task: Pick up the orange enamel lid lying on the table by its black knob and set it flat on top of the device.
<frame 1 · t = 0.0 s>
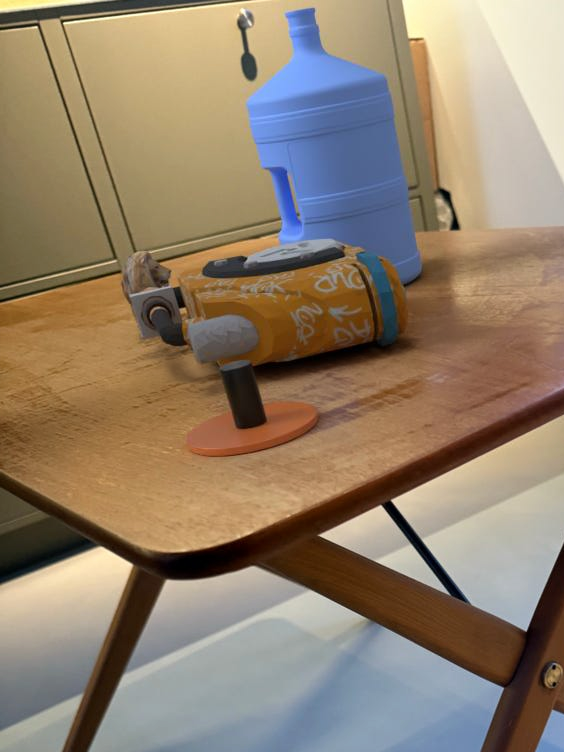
lid: (253, 431, 79), on the table
lion figurine: (161, 330, 119), on the table
water jug: (358, 287, 122), on the table
device: (271, 348, 102), on the table
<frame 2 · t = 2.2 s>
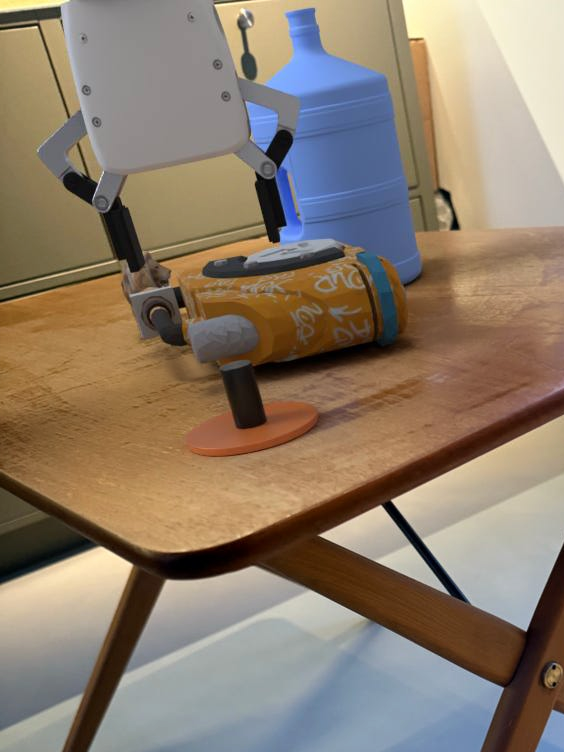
hand: (207, 254, 72), 13 cm above the table, tool pointing down, fingers open, 9 cm apart
nothing on the table moved.
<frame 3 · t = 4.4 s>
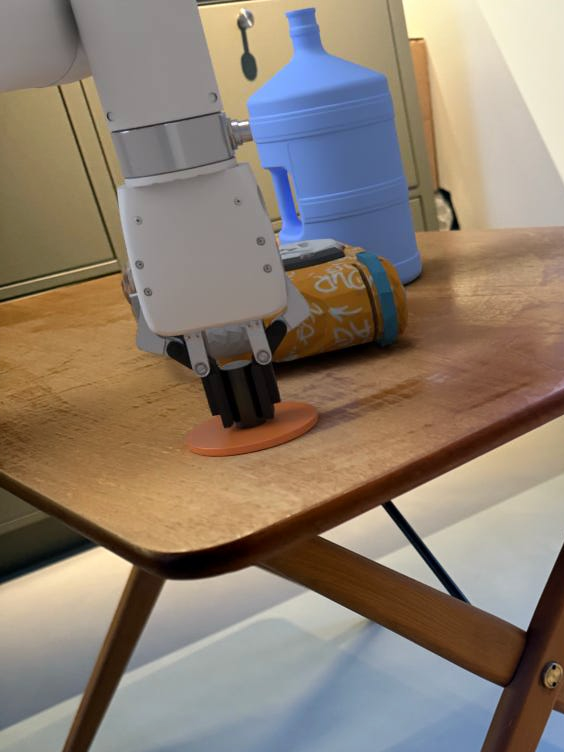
hand: (249, 416, 78), 1 cm above the table, tool pointing down, fingers closed on lid, 2 cm apart
lid: (253, 431, 79), on the table, touching gripper
everything else where it was.
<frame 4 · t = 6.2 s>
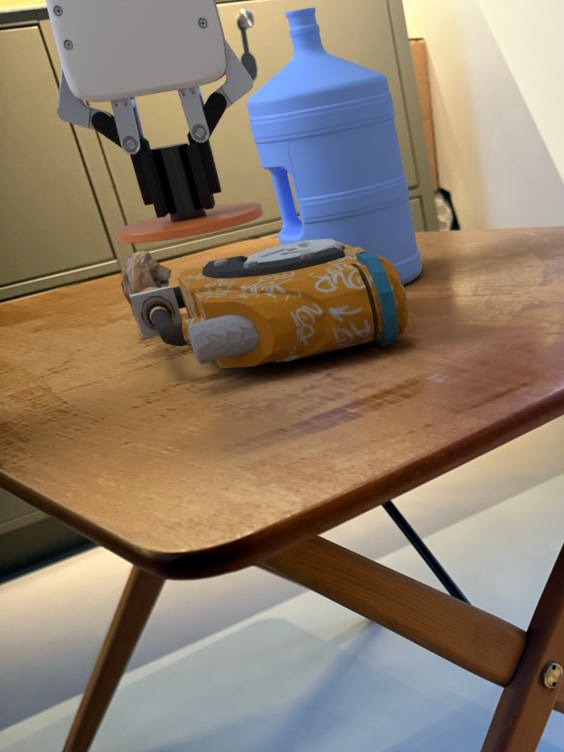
hand: (186, 208, 71), 16 cm above the table, tool pointing down, fingers closed on lid, 2 cm apart
lid: (191, 226, 72), point 15 cm above the table, touching gripper
everything else where it was.
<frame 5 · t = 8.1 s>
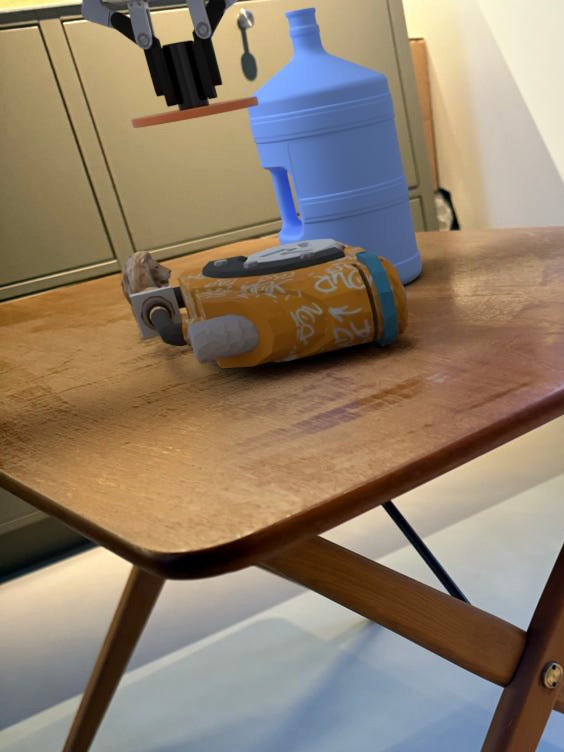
hand: (192, 99, 82), 22 cm above the table, tool pointing down, fingers closed on lid, 2 cm apart
lid: (196, 116, 83), point 21 cm above the table, touching gripper
everything else where it was.
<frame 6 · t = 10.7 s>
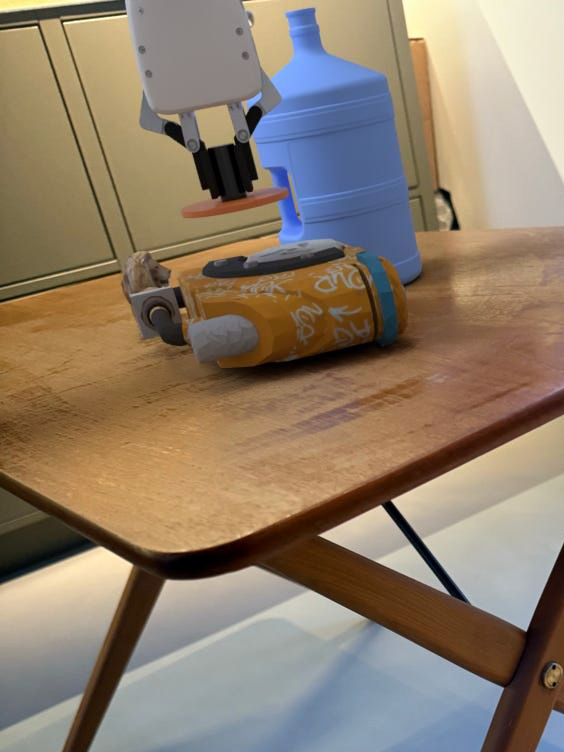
hand: (232, 192, 95), 14 cm above the table, tool pointing down, fingers closed on lid, 2 cm apart
lid: (236, 205, 96), point 13 cm above the table, touching gripper
everything else where it was.
when the fingers open (9 cm above the table, at t = 12.0 s): lid stays where it is, resting on device.
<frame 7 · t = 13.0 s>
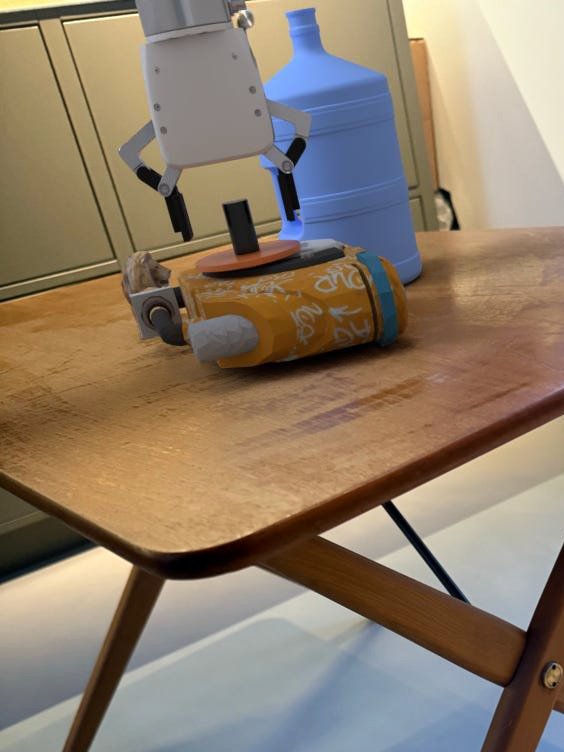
hand: (240, 229, 97), 11 cm above the table, tool pointing down, fingers open, 9 cm apart
lid: (249, 258, 98), point 8 cm above the table, touching device
device: (271, 348, 102), on the table, touching lid
everything else where it was.
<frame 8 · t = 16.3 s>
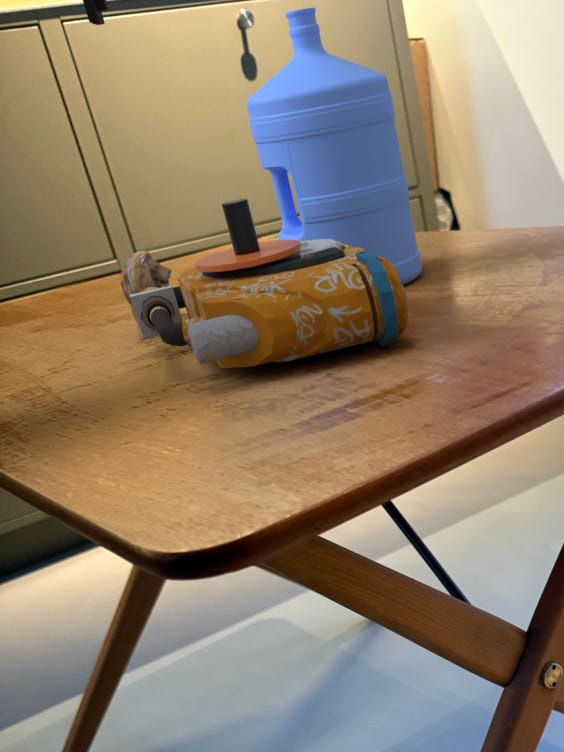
hand: (35, 35, 81), 28 cm above the table, tool pointing down, fingers open, 9 cm apart
nothing on the table moved.
at the end: lid inside the target area on the device (0.1 cm from its centre), point 8.5 cm above the device's base; lid tilted 0° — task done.
